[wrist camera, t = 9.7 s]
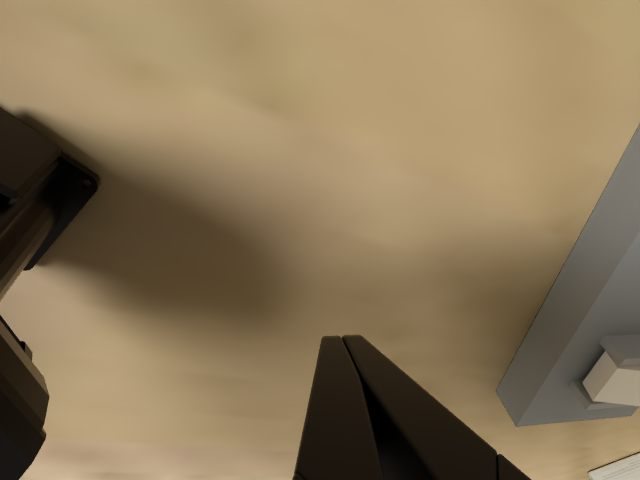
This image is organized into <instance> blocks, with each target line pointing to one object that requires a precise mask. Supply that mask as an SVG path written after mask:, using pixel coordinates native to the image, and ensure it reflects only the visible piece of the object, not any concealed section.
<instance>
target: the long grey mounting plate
mask: <svg viewBox="0 0 640 480" xmlns="http://www.w3.org/2000/svg"><path fill="white" fill-rule="evenodd" d="M605 350H606V351H607V352H608V353H609V354H610V356H611V357H612V358H613V359H614V360H615V361H616V362H617V363H618V364H619V365H620V366H625V365H640V125H639V127H638V129H637V131H636V133H635V134H634V136H633V138H632V140H631V142H630V144H629V145H628V147H627V149H626V151H625V153H624V155H623V157H622V158H621V160H620V162H619V164H618V166H617V168H616V170H615V171H614V173H613V175H612V177H611V179H610V181H609V183H608V184H607V186H606V188H605V190H604V192H603V194H602V196H601V197H600V199H599V201H598V203H597V205H596V207H595V209H594V210H593V212H592V214H591V216H590V218H589V220H588V221H587V223H586V225H585V227H584V229H583V231H582V233H581V234H580V236H579V238H578V240H577V242H576V244H575V246H574V247H573V249H572V251H571V253H570V255H569V257H568V259H567V260H566V262H565V264H564V266H563V268H562V270H561V272H560V273H559V275H558V277H557V279H556V281H555V283H554V285H553V286H552V288H551V290H550V292H549V294H548V296H547V298H546V299H545V301H544V303H543V305H542V307H541V309H540V310H539V312H538V314H537V316H536V318H535V320H534V322H533V323H532V325H531V327H530V329H529V331H528V333H527V335H526V336H525V338H524V340H523V342H522V344H521V346H520V348H519V349H518V351H517V353H516V355H515V357H514V359H513V361H512V362H511V364H510V366H509V368H508V370H507V372H506V374H505V375H504V377H503V379H502V381H501V383H500V385H499V386H498V388H497V390H496V393H497V395H498V396H499V398H500V400H501V402H502V403H503V405H504V407H505V409H506V410H507V412H508V414H509V415H510V417H511V419H512V421H513V422H514V424H515V426H516V427H517V426H528V425H539V424H549V423H560V422H571V421H582V420H593V419H603V418H614V417H625V416H631V415H632V414H633V413H634V412H635V411H636V409H637V408H638V407H639V406H632V405H623V404H615V403H606V402H597V401H592V399H591V397H590V395H589V394H588V392H587V390H586V388H585V387H584V385H583V383H582V382H583V381H584V380H585V378H586V377H587V375H588V374H589V373H590V371H591V370H592V368H593V367H594V366H595V364H596V363H597V361H598V360H599V359H600V357H601V356H602V354H603V353H604V352H605Z"/></svg>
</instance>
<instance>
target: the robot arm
mask: <svg viewBox="0 0 640 480" xmlns="http://www.w3.org/2000/svg"><path fill="white" fill-rule="evenodd" d="M82 179H86V180H89V181H90V182H91V185H86V184H84V183H83V182H82ZM99 186H100V178H99V177H98V175H97V174H95V173H94V172H93V171H91V170H90V169H88V168H87V167H85V166H84V165H82V164H81V163H79V162H77V161H76V160H74V159H73V158H71V157H70V156H68V155H67V154H65V153H64V152H62V151H61V150H60V149H59V147H58V146H57V145H56V144H54V143H53V142H51V141H50V140H48V139H47V138H45V137H44V136H42V135H41V134H39V133H37V132H36V131H34V130H33V129H31V128H30V127H28V126H27V125H25V124H24V123H22V122H21V121H19V120H18V119H16V118H15V117H13V116H12V115H10V114H8V113H7V112H5V111H4V110H2V109H1V108H0V301H1V299H2V298H3V297H4V295H5V294H6V293H7V291H8V290H9V288H10V287H11V286H12V284H13V283H14V281H15V280H16V279H17V277H18V276H19V274H20V273H21V272H22V270H23V271H26V270H30V269H31V268H33V267H34V265H35V264H36V263H37V262H38V261H39V259H40V258H41V257H42V256H43V255H44V253H45V252H46V251H47V250H48V249H49V247H50V246H51V245H52V244H53V243H54V241H55V240H56V239H57V238H58V237H59V235H60V234H61V233H62V232H63V231H64V229H65V228H66V227H67V226H68V225H69V223H70V222H71V221H72V220H73V219H74V217H75V216H76V215H77V214H78V213H79V211H80V210H81V209H82V208H83V207H84V205H85V204H86V203H87V202H88V201H89V199H90V198H91V197H92V196H93V195H94V193H95V192H96V191H97V189H98V188H99ZM48 401H49V394H48V390H47V387H46V383H45V380H44V377H43V376H42V374H41V373H40V372H39V370H38V369H37V368H36V366H35V365H34V364H33V363H32V351H31V350H30V348H29V347H28V346H27V344H26V343H25V342H23V341H19V339H18V338H17V337H16V335H15V334H14V333H13V331H12V330H11V329H10V327H9V326H8V325H7V323H6V322H5V321H4V319H3V318H2V317H1V315H0V480H19V479H20V477H21V476H22V475H23V474H24V472H25V471H26V470H27V469H28V467H29V466H30V465H31V464H32V462H33V461H34V459H35V457H36V455H37V454H38V452H39V450H40V448H41V446H42V445H43V443H44V441H45V439H46V432H45V430H44V429H43V425H44V422H45V417H46V412H47V406H48ZM292 480H531V479H530V478H529V477H528V476H526V475H525V474H524V473H523V472H521V471H520V470H519V469H518V468H517V467H516V466H514V465H513V464H512V463H511V462H510V461H509V460H507V459H506V458H505V457H504V456H503V455H501V454H498V455H497V452H496V450H495V449H493V448H492V447H491V446H490V445H489V444H488V443H486V442H485V441H484V440H483V439H482V438H481V437H479V436H478V435H477V434H476V433H475V432H474V431H472V430H471V429H470V428H469V427H468V426H467V425H465V424H464V423H463V422H462V421H461V420H460V419H458V418H457V417H456V416H455V415H454V414H453V413H451V412H450V411H449V410H448V409H447V408H445V407H444V406H443V405H442V404H441V403H440V402H438V401H437V400H436V399H435V398H434V397H433V396H431V395H430V394H429V393H428V392H427V391H426V390H424V389H423V388H422V387H421V386H420V385H419V384H417V383H416V382H415V381H414V380H413V379H412V378H410V377H409V376H408V375H407V374H406V373H405V372H403V371H402V370H401V369H400V368H399V367H398V366H396V365H395V364H394V363H393V362H392V361H390V360H389V359H388V358H387V357H386V356H385V355H383V354H382V353H381V352H380V351H379V350H378V349H376V348H375V347H374V346H373V345H372V344H371V343H369V342H368V341H367V340H366V339H365V338H364V337H362V336H361V335H344V336H343V337H342V338H341V337H340V336H324V337H323V338H322V340H321V344H320V349H319V354H318V359H317V364H316V369H315V374H314V379H313V383H312V388H311V393H310V398H309V403H308V408H307V413H306V418H305V422H304V427H303V432H302V437H301V442H300V447H299V452H298V457H297V461H296V466H295V471H294V476H293V479H292Z"/></svg>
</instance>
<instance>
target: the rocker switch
mask: <svg viewBox="0 0 640 480" xmlns="http://www.w3.org/2000/svg"><path fill="white" fill-rule="evenodd" d="M582 383H583V385H584V387H585V388H586V390H587V392H588V394H589V395H590V397H591V399H592V401H597V402H606V403H615V404H623V405H632V406H640V365H625V366H620V365H619V364H618V363H617V362H616V361H615V360H614V359H613V358H612V357H611V356H610V354H609V353H608V352H607V351H606V350H605V352H604V353H603V354H602V356H601V357H600V359H599V360H598V361H597V363H596V364H595V366H594V367H593V368H592V370H591V371H590V373H589V374H588V375H587V377H586V378H585V380H584V381H583V382H582Z"/></svg>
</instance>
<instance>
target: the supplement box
mask: <svg viewBox="0 0 640 480" xmlns="http://www.w3.org/2000/svg"><path fill="white" fill-rule="evenodd" d="M588 474H589V478H590V480H640V453H638V454H635V455H632V456H630V457H627V458H624V459H622V460H619V461H617V462H614V463H611V464H609V465H606V466H604V467H601V468H598V469H596V470H593V471H591V472H589V473H588Z"/></svg>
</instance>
